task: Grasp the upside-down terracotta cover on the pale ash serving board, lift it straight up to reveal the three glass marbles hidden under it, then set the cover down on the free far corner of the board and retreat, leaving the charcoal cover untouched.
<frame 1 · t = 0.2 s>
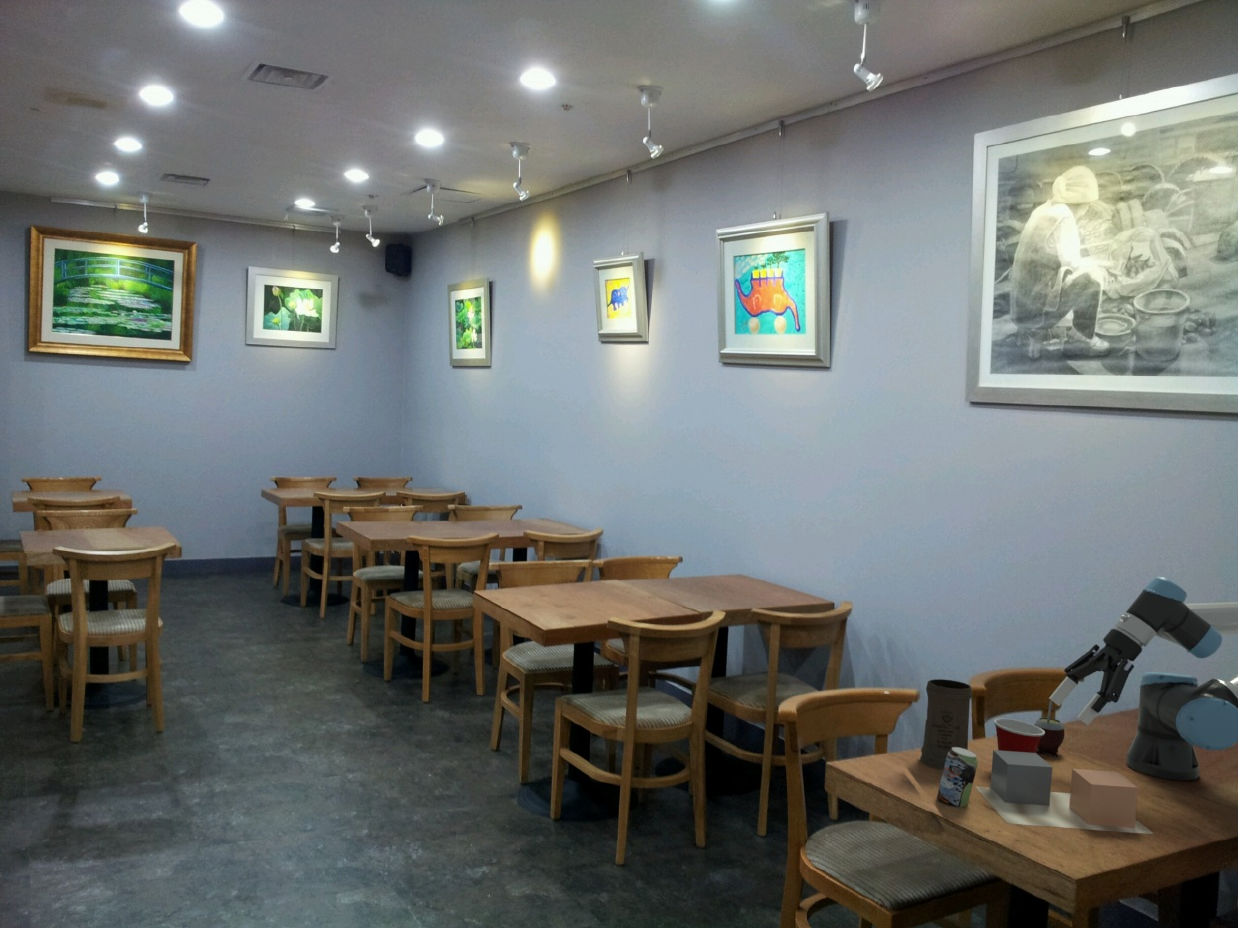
hand: (1067, 711, 223), 16 cm above the table, tool tilted 35°, fingers open, 13 cm apart
beverage can: (955, 808, 204), on the table
marble cream: (1087, 812, 202), point 1 cm above the table, touching serving board
marble amber: (1105, 820, 198), point 1 cm above the table, touching serving board
serving board: (1059, 814, 203), on the table
plastic cup: (1015, 777, 225), on the table
mate gourd: (1047, 753, 244), on the table
terracotta cover: (1101, 817, 200), point 1 cm above the table, touching serving board
beer stein: (942, 765, 230), on the table
marble teal: (1107, 814, 201), point 1 cm above the table, touching serving board
charcoal cover: (1019, 795, 209), point 1 cm above the table, touching serving board
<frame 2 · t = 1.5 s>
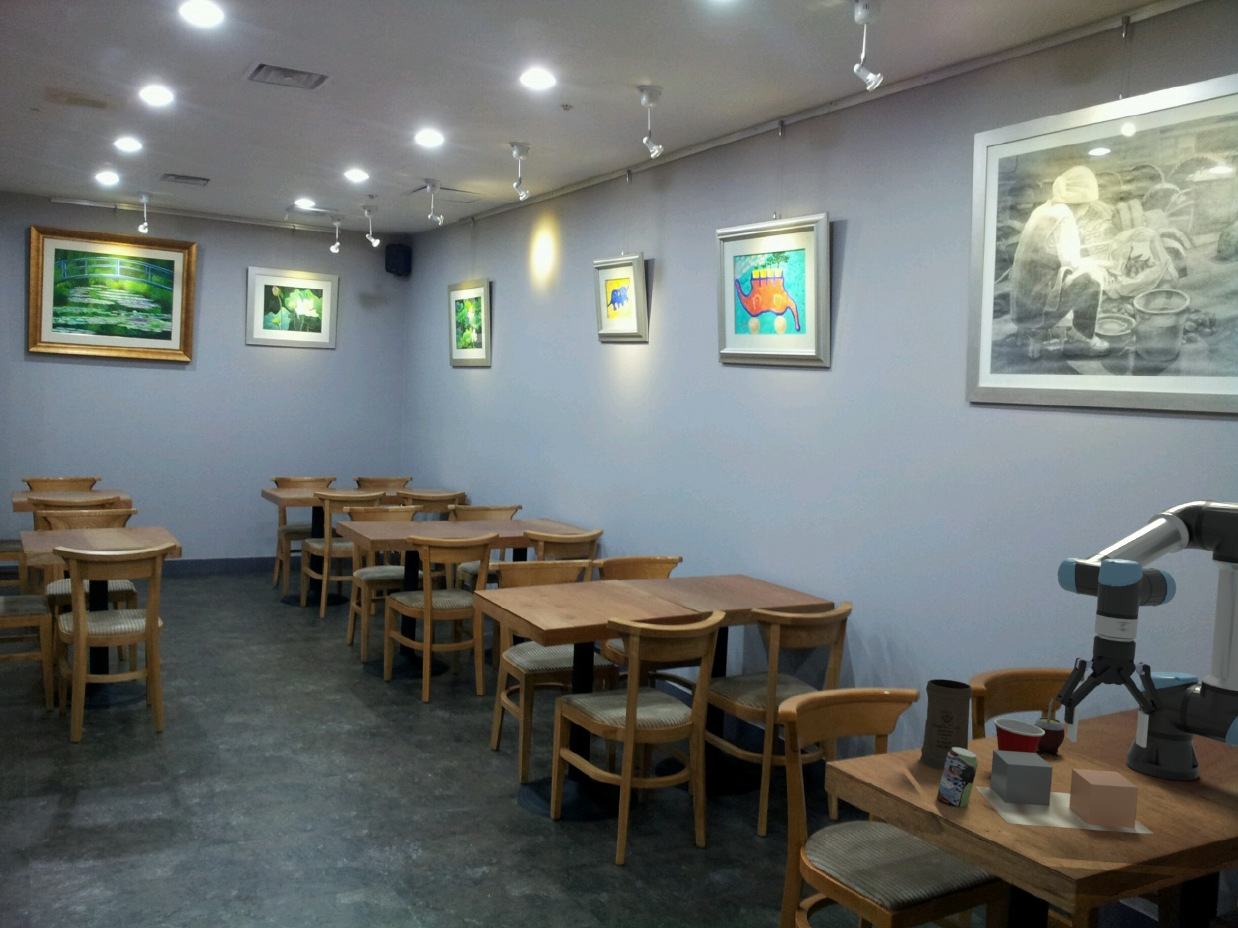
hand: (1106, 742, 199), 16 cm above the table, tool pointing down, fingers open, 13 cm apart
nothing on the table moved.
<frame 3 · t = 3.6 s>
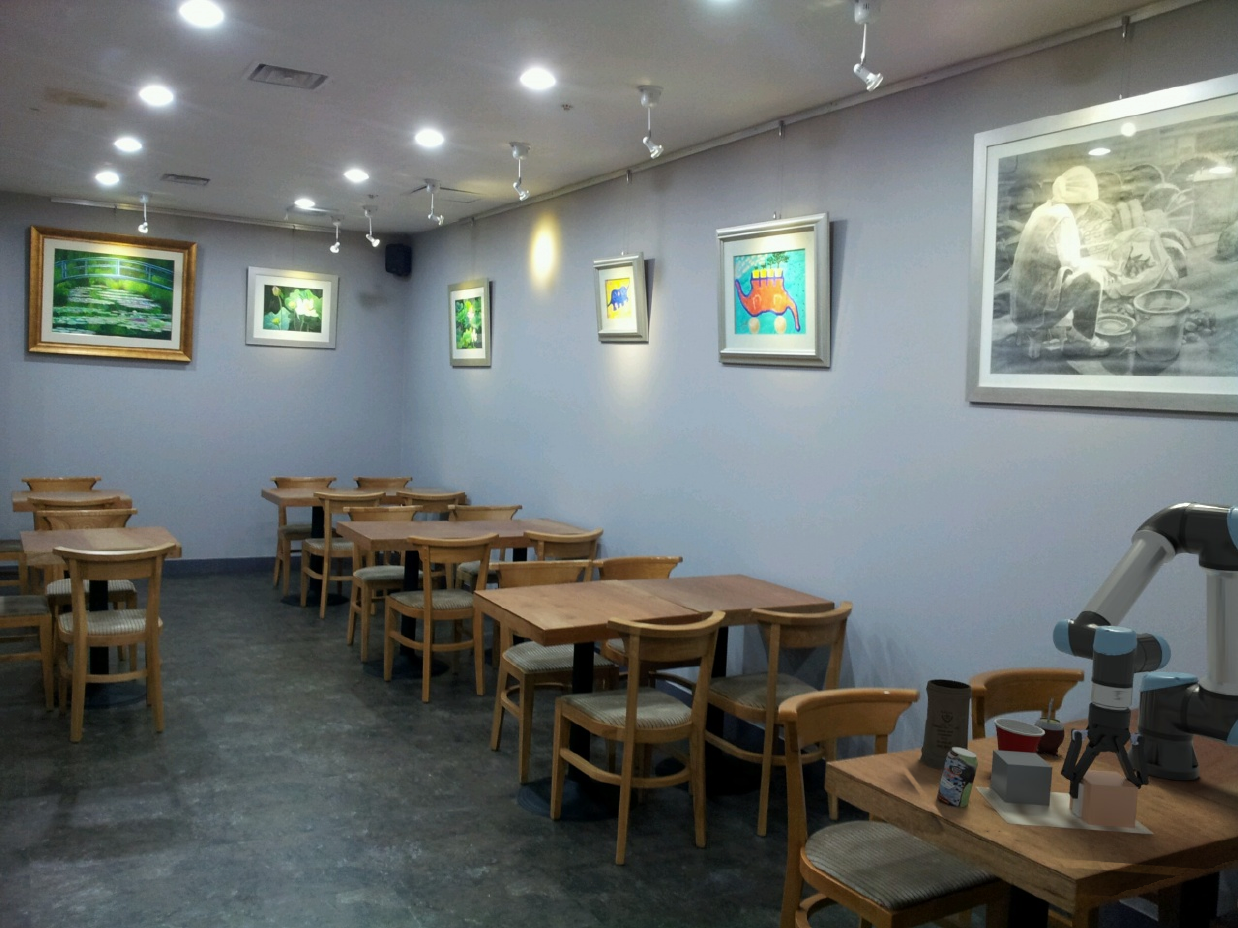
hand: (1101, 815, 200), 1 cm above the table, tool pointing down, fingers closed on terracotta cover, 9 cm apart
terracotta cover: (1101, 817, 200), point 1 cm above the table, touching gripper, serving board
everything else where it was.
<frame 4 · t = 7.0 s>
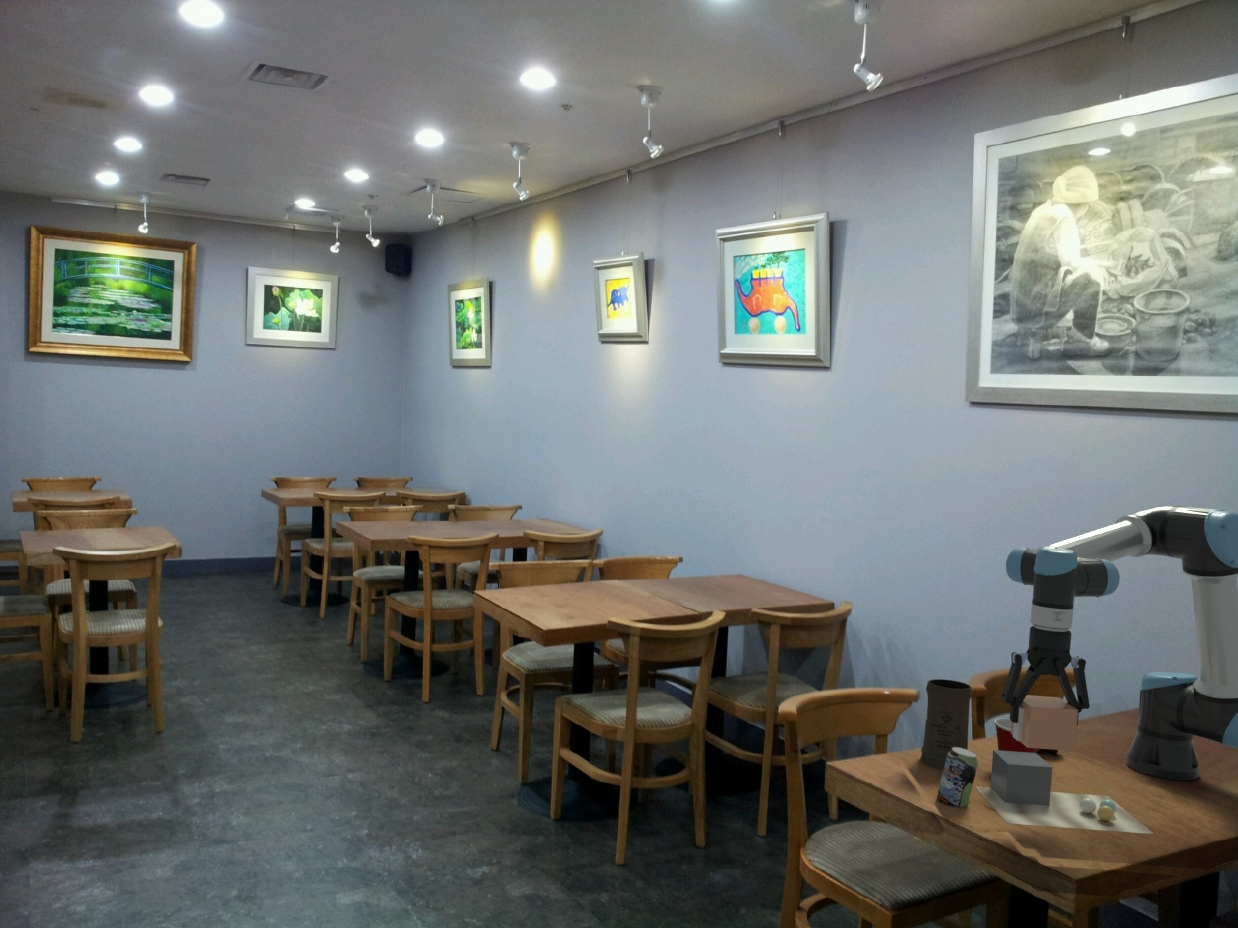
hand: (1042, 740, 197), 17 cm above the table, tool pointing down, fingers closed on terracotta cover, 9 cm apart
terracotta cover: (1042, 741, 197), point 16 cm above the table, touching gripper
everything else where it was.
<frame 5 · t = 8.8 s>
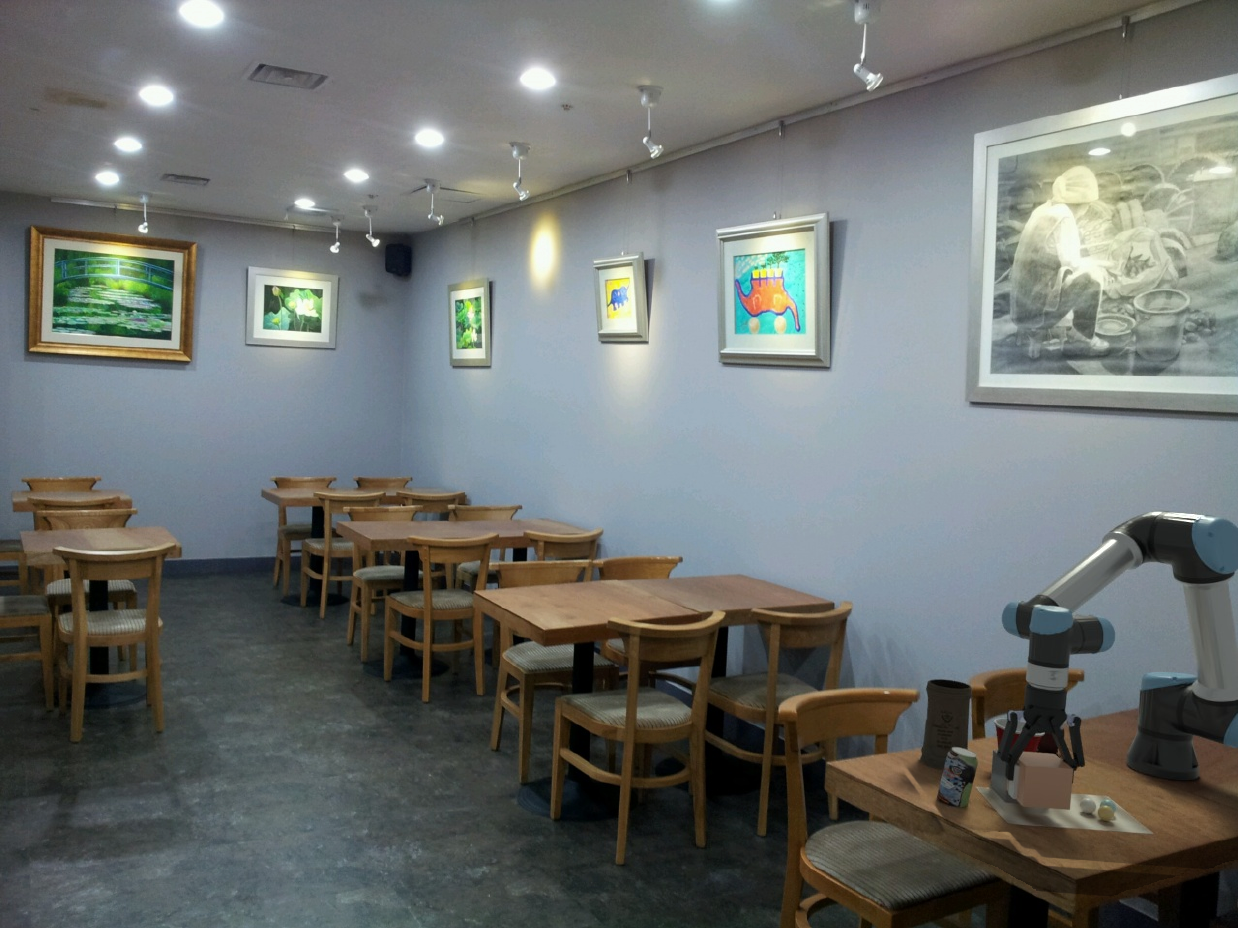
hand: (1037, 798, 197), 5 cm above the table, tool pointing down, fingers closed on terracotta cover, 9 cm apart
terracotta cover: (1037, 799, 197), point 5 cm above the table, touching gripper
everything else where it was.
when the fingers open (3 cm above the table, at t = 10.2 s): terracotta cover drops 1 cm, resting on serving board.
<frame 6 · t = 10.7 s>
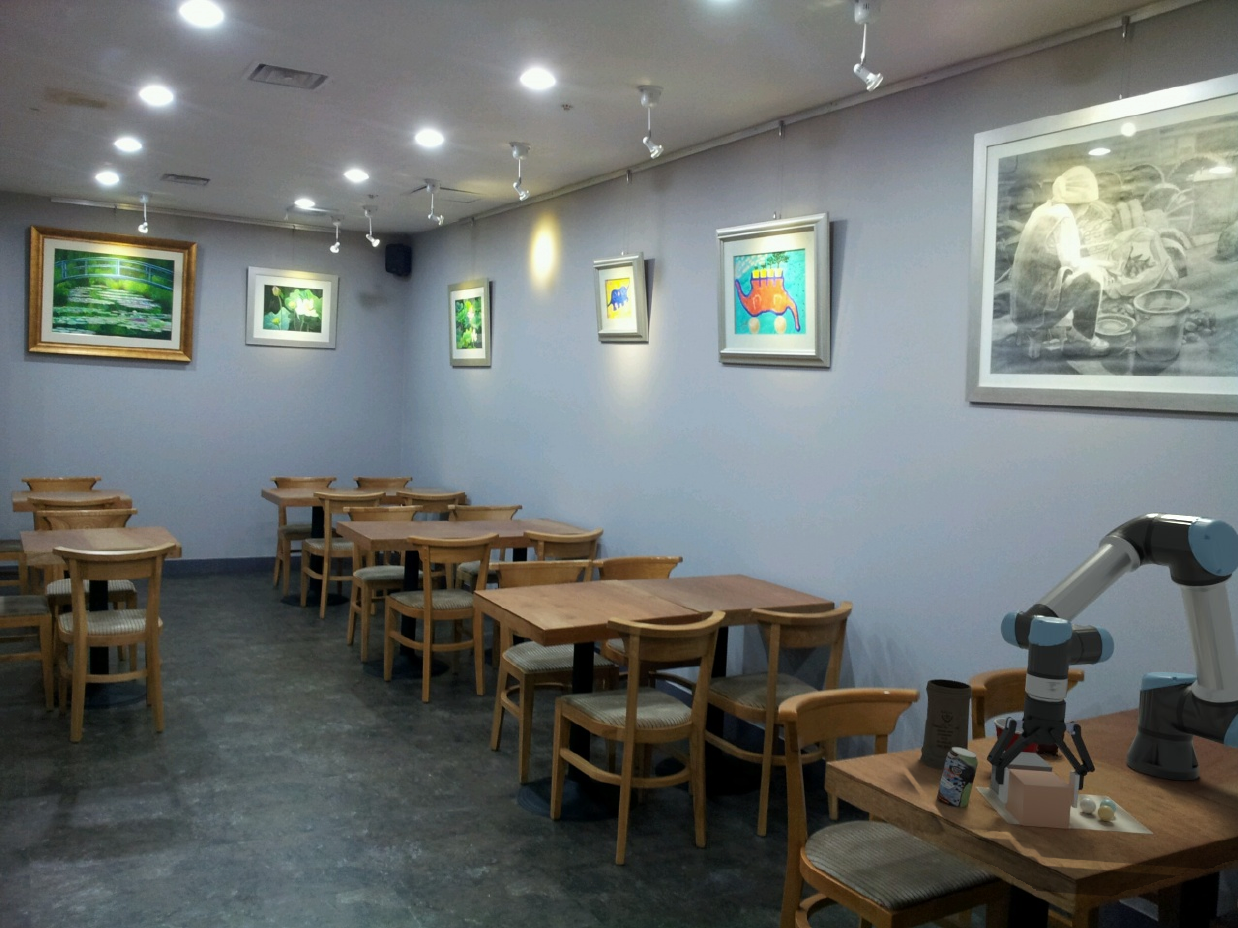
hand: (1037, 802, 197), 4 cm above the table, tool pointing down, fingers open, 13 cm apart
terracotta cover: (1036, 817, 197), point 1 cm above the table, touching serving board
everything else where it was.
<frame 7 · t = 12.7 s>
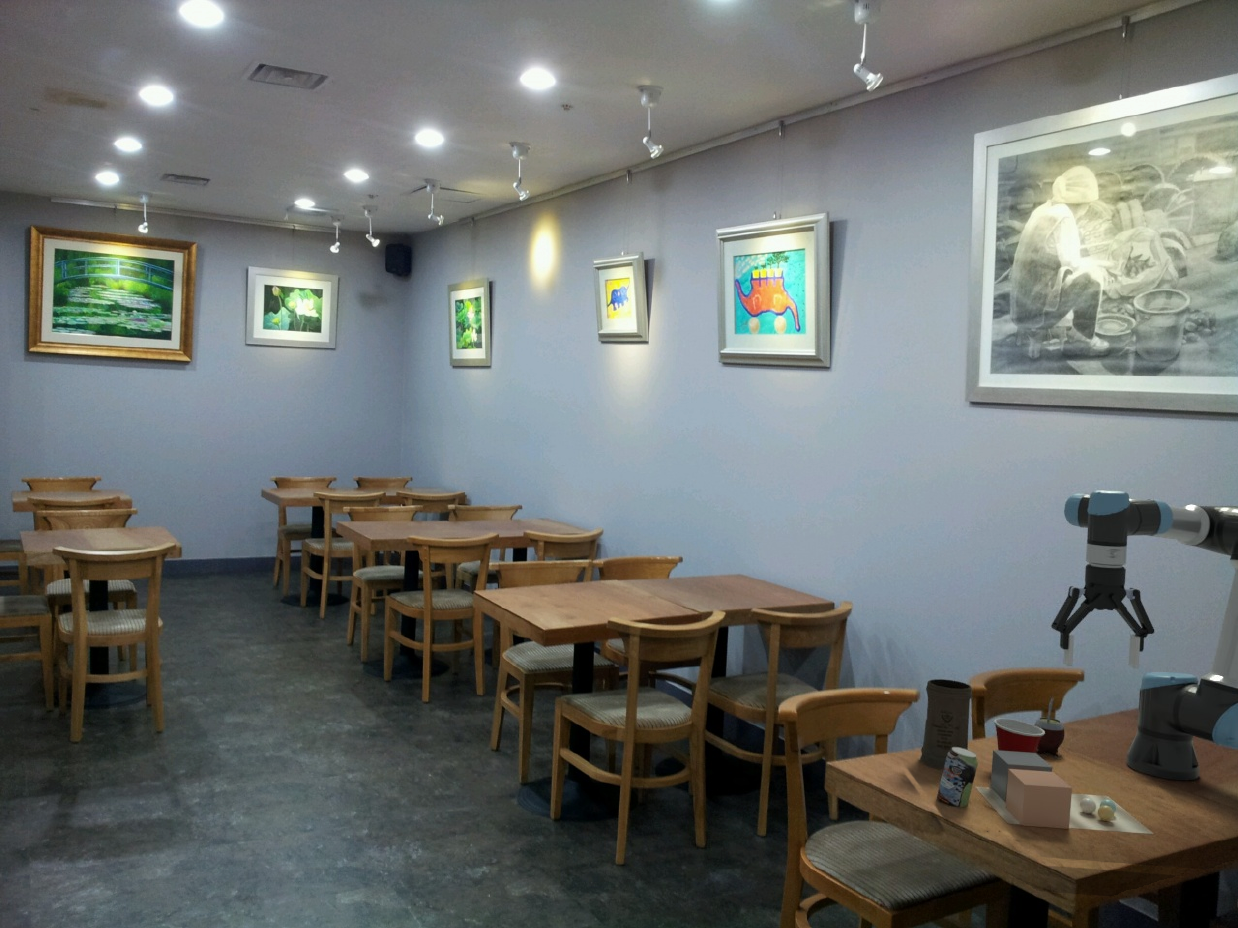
hand: (1100, 665, 209), 30 cm above the table, tool pointing down, fingers open, 13 cm apart
nothing on the table moved.
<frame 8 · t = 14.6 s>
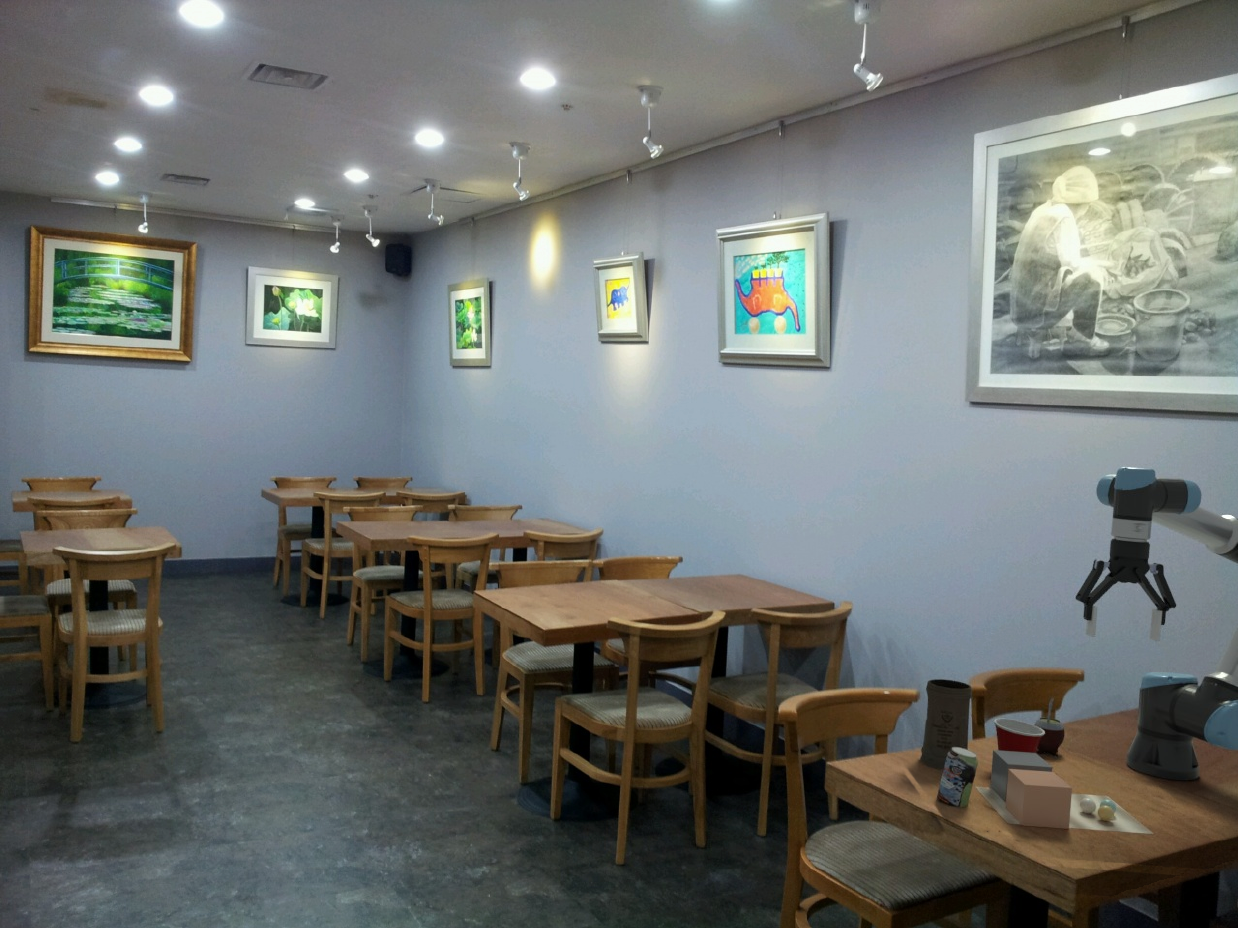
hand: (1122, 637, 214), 35 cm above the table, tool pointing down, fingers open, 13 cm apart
nothing on the table moved.
at the end: terracotta cover inside the target area (0.0 cm from its centre), point 1.2 cm above the table; terracotta cover tilted 0°; the gripper is holding nothing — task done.
